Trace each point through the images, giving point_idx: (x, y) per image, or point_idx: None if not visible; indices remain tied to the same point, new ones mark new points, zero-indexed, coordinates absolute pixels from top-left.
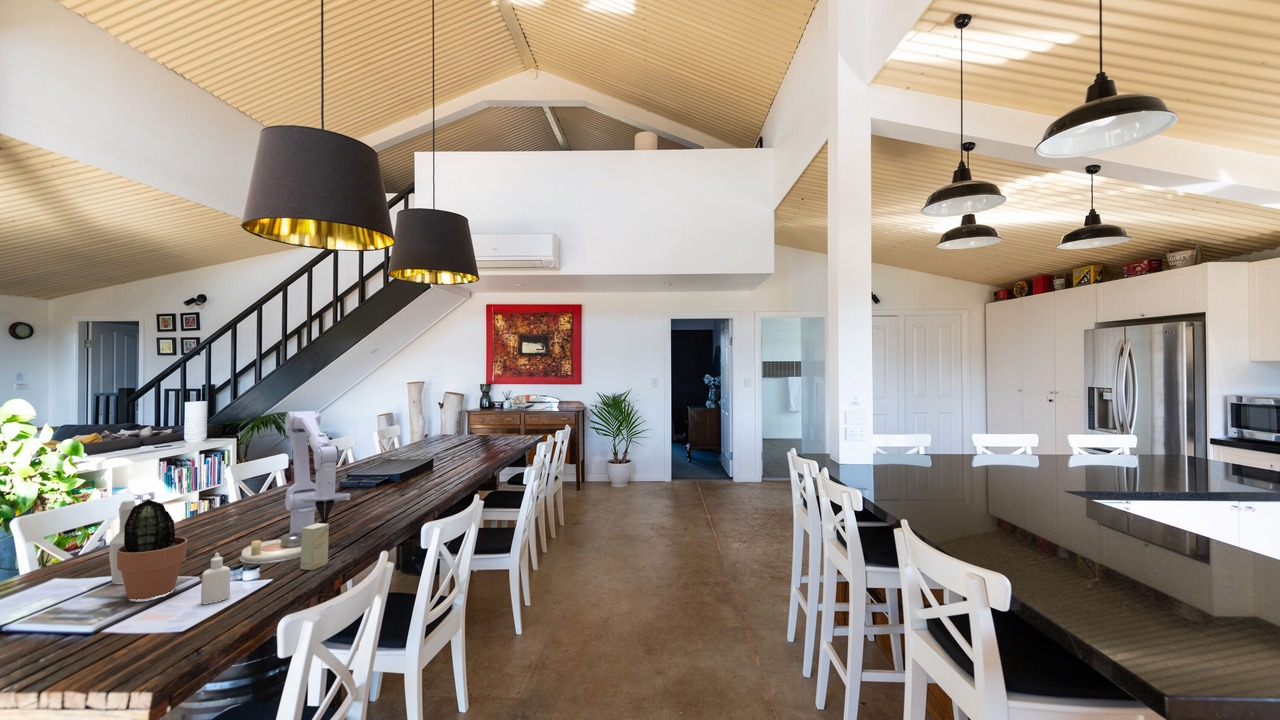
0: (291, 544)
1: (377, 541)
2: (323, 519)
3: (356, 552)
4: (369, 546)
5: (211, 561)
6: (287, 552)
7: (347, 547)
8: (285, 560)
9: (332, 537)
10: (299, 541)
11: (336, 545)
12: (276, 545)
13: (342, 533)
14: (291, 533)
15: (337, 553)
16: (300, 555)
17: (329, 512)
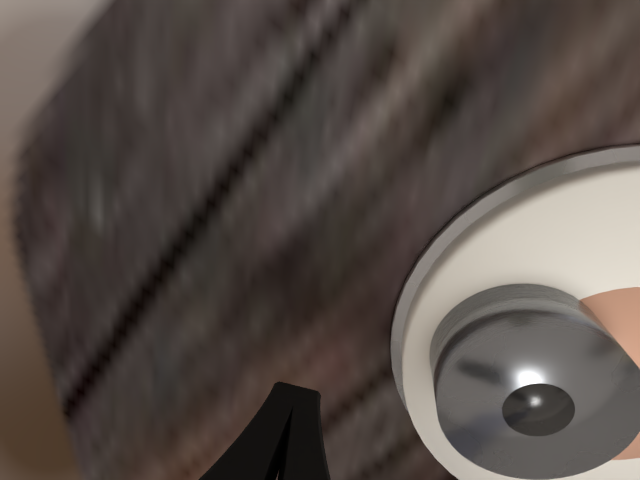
0: (567, 304)
1: (13, 217)
2: (298, 426)
3: (141, 35)
4: (57, 134)
5: None
6: (627, 189)
7: (190, 206)
8: (624, 147)
9: None
10: (510, 308)
11: (247, 292)
12: None
13: (193, 473)
14: (529, 468)
15: (265, 102)
16: (504, 185)
17: (202, 477)
